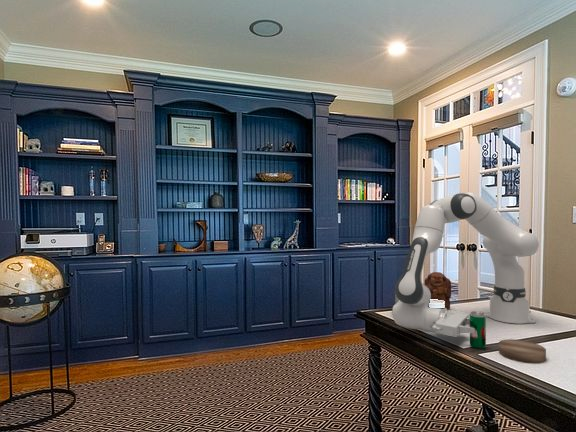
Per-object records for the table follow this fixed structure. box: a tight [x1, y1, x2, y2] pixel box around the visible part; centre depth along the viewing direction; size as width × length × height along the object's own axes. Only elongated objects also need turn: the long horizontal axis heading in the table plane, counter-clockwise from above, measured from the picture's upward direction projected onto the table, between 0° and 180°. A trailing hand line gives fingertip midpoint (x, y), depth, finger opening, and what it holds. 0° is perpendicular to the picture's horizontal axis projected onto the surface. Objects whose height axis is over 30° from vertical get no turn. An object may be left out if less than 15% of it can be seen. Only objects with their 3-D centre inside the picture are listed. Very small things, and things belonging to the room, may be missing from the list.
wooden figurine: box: [424, 271, 452, 310], centre depth 180 cm, size 12×6×18 cm, turn 77°
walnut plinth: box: [498, 338, 547, 364], centre depth 122 cm, size 13×13×3 cm
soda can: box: [469, 310, 487, 350], centre depth 129 cm, size 5×5×12 cm
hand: (477, 327), depth 129 cm, fingers open, 8 cm apart
